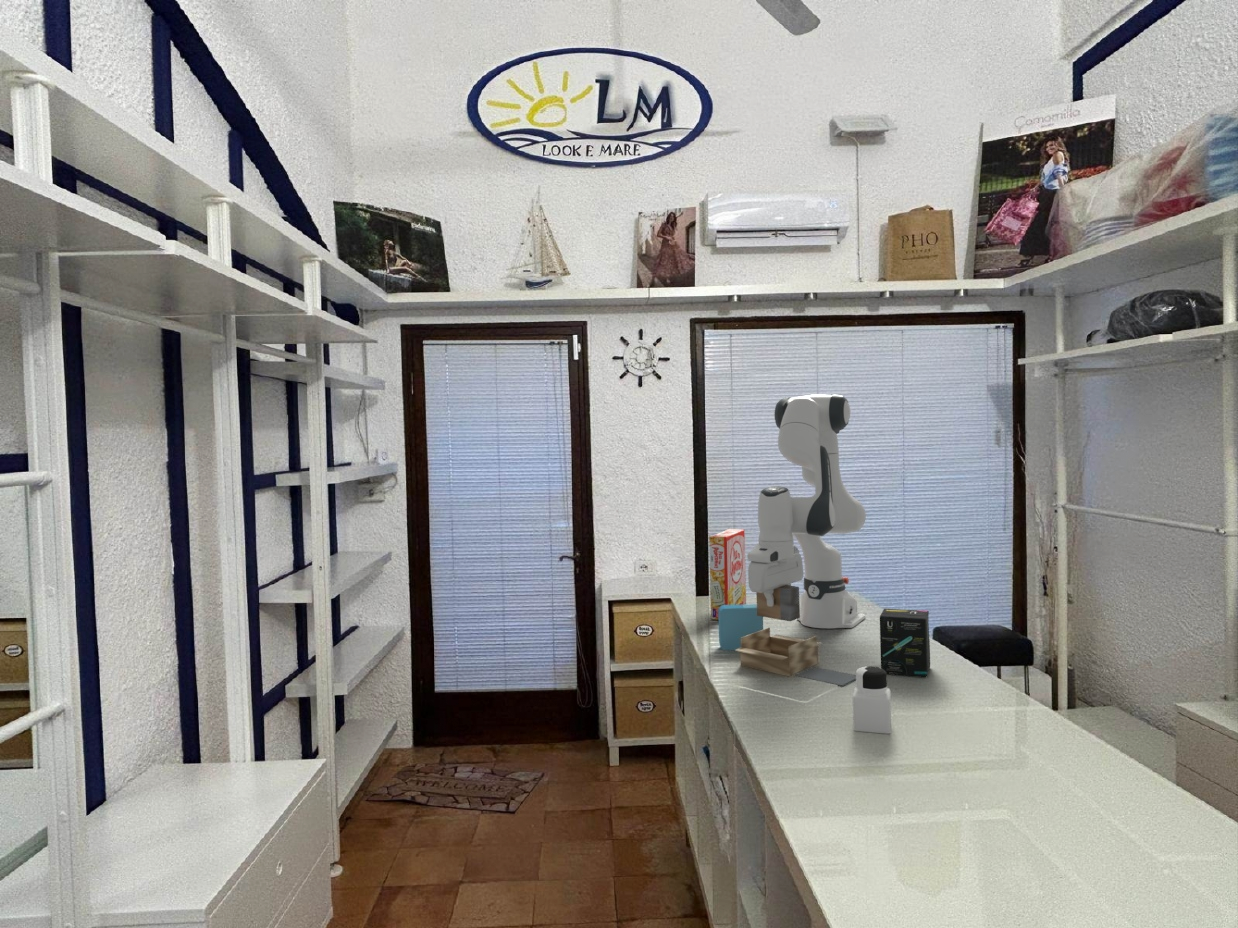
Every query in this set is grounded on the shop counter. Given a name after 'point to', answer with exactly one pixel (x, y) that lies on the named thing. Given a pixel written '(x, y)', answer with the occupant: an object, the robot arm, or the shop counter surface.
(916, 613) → the tampon box
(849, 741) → the shop counter surface
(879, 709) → the medicine bottle
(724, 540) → the popcorn box
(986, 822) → the shop counter surface
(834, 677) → the mat
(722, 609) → the blue rounded block
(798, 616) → the walnut box
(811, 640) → the carton
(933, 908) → the shop counter surface
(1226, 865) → the shop counter surface
